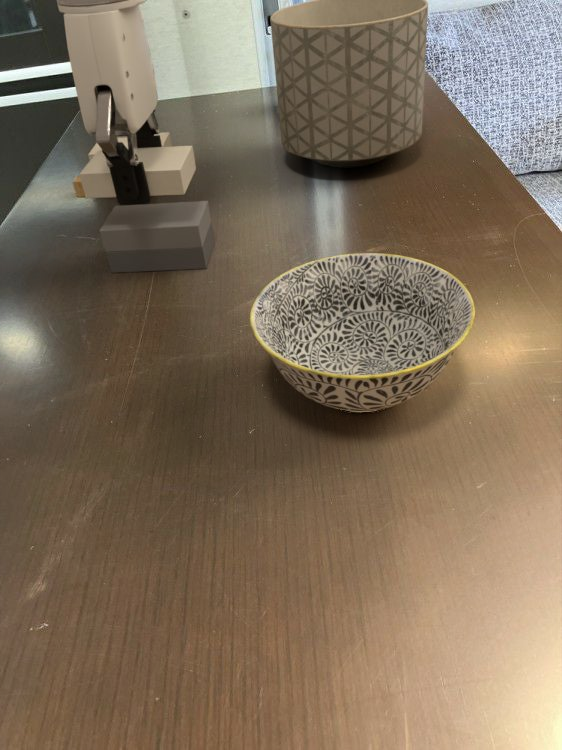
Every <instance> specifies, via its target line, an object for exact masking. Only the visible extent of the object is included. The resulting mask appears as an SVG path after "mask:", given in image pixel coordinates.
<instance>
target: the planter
mask: <svg viewBox="0 0 562 750" xmlns="http://www.w3.org/2000/svg"><path fill="white" fill-rule="evenodd" d="M428 13H429V2H428V1H427V0H307V1H303V2H299V3H295V4H292V5H289V6H286V7H282V8H281V9H278V10H276V11H274V12H273V13H272V14H271V15H270V18H269V19H270V30H271V31H270V32H271V41H272V52H273V53H272V54H273V62H274V63H273V65H274V75H275V87H276V95H277V96H276V97H277V107H278V118H279V119H278V120H279V129H280V138H281V139H280V140H281V141H280V142H281V144H282V146H283V148H284V149H285V150H286V151H288V152H289V153H291V154H292V155H295V156H298V157H301V158H305V159H308V160H311V161H314V162H316V163H318V164H321V165H324V166H329V167H333V168H340V169H341V168H342V169H349V168H350V169H353V168H360V167H364V166H368V165H372V164H375V163H378V162H380V161H382V160H385V159H386V158H388V157H390V156H392V155H393V154H396V153H399V152H401V151H403V150H406V149H407V148H409V147H411V146H413V145H414V144H416V143H417V142H418V141H419V140H420V139H421V137H422V135H423V134H422V133H423V119H424V118H423V117H424V116H423V115H424V94H425V78H426V77H425V75H426V56H427V55H426V53H427V36H428V33H427V32H428V15H429V14H428Z"/></svg>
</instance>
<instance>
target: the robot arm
mask: <svg viewBox="0 0 562 750" xmlns="http://www.w3.org/2000/svg"><path fill="white" fill-rule="evenodd" d="M147 1H148V0H56V3H57V8H58V11H59V13H63V21H64V31H65V39H66V46H67V51H68V52H67V53H68V57H69V63H70V67H71V73H72V78H73V82H74V87H75V91H76V96H77V99H78V106H79V110H80V114H81V118H82V122H83V127H84V129H85V131H86V133H88V134H89V135H90V136H95V141H96V143H97V144H98V145H99V146H100V147H101V149H102V152H103V154H104V155H105V157H106V163H107V166H108V167H109V169H110V173H111V177H112V181H113V185H114V189H115V193H116V197H115V198H116V200H117V203H118V205H119V206H126V205H144V204H150V203H151V199H152V198H151V196H150V193H149V188H148V184H147V179H146V174H145V170H144V165H143V162H139V160H138V148H151V147H162V144H161V139H160V135H156V136H154V135H155V134H159V133H160V126H159V124H158V119H157V117H156V114H155V113H156V107H157V105H158V101H159V100H158V99H159V96H158V87H157V81H156V74H155V70H154V64H153V59H152V54H151V50H150V44H149V41H148V36H147V33H146V27H145V23H144V19H143V15H142V12H141V8H140V5H143V4H144V3H146V2H147ZM121 124H122V125H123V124H126V125H127V126H126V127H125V128H120V129H119V128H118V129H116V125H121ZM126 137H127V141H128V149H127V148H126V146H125V145H124V144H123V143H122V142H118V139H117V138H126Z"/></svg>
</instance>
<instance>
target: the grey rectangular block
mask: <svg viewBox="0 0 562 750" xmlns="http://www.w3.org/2000/svg"><path fill="white" fill-rule="evenodd" d="M209 205H210V204H209V201H208V200H198V201H197V200H196V201H179V202H178V201H177V202H164V203H148V204H142V205H115V206H114V207H113V208H112V210H111V212H110V213H109V214H108V216H107V218H106V220H105V221H104V222H103V224H102V226H101V227H100V229H99V231H98V233H99V236H100V239H101V243H102V246H103V249H104V252H105V255H106V259H107V262H108V265H109V269H110V272H111V274H116V273H117V274H118V273H139V272H162V271H163V272H164V271H183V270H185V271H187V270H206V269H207V268H208V265H209V262H210V260H211V259H210V258H211V256H212V253H213V249H214V247H215V243H216V240H215V235H214V234H215V233H214V228H213V223H212V218H211V217H212V216H211V212H210V211H211V210H210V206H209Z"/></svg>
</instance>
